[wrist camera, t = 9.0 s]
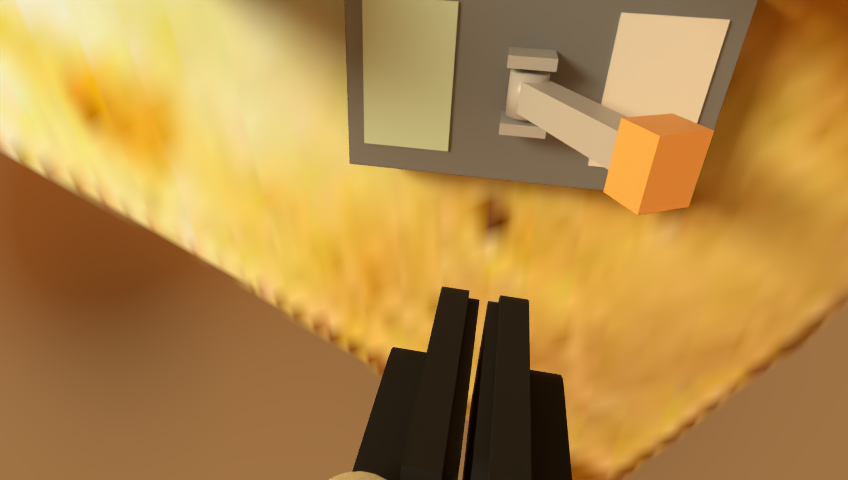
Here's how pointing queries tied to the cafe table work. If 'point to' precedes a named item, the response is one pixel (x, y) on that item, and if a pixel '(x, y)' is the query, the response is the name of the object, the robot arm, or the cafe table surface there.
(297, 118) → the cafe table surface
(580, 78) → the switch box
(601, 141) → the lever
